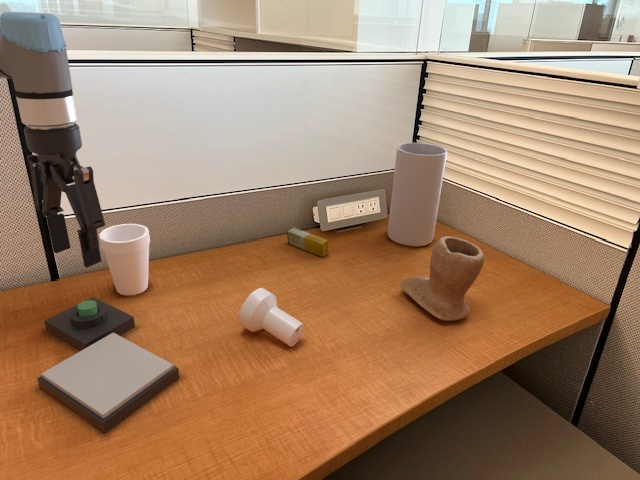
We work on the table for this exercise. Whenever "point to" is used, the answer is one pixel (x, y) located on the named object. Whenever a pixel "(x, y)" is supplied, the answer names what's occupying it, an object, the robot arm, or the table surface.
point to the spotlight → (269, 317)
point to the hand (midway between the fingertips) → (77, 256)
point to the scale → (108, 380)
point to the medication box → (307, 241)
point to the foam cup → (127, 256)
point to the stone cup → (447, 279)
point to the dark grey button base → (89, 325)
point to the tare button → (87, 308)
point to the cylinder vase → (416, 193)
